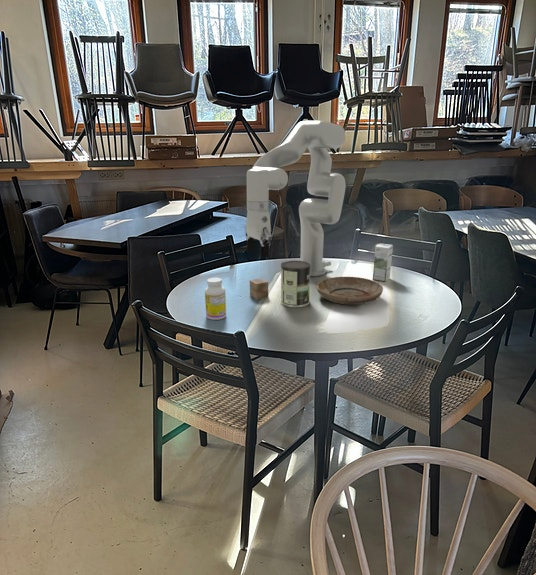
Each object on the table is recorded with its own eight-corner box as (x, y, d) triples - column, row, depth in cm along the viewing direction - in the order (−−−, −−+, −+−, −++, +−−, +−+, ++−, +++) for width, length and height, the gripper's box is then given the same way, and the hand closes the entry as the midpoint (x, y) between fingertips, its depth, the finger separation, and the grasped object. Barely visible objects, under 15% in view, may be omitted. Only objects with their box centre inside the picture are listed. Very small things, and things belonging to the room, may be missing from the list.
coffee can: (308, 297, 159) (309, 260, 155) (310, 307, 150) (311, 268, 145) (280, 297, 160) (280, 260, 155) (280, 307, 150) (280, 268, 145)
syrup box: (390, 278, 180) (393, 244, 175) (385, 282, 175) (388, 247, 170) (376, 276, 183) (379, 242, 178) (372, 280, 178) (374, 245, 173)
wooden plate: (334, 284, 174) (335, 272, 172) (391, 295, 161) (392, 283, 159) (304, 301, 156) (305, 288, 154) (366, 316, 143) (367, 302, 141)
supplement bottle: (208, 312, 146) (206, 276, 142) (227, 312, 146) (226, 276, 142) (204, 320, 140) (202, 283, 135) (225, 320, 140) (223, 283, 135)
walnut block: (261, 293, 164) (261, 278, 162) (268, 297, 160) (268, 281, 158) (249, 295, 161) (249, 280, 159) (256, 299, 157) (256, 284, 155)
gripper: (280, 208, 144) (279, 258, 150) (255, 202, 158) (255, 248, 164) (260, 210, 141) (260, 260, 146) (236, 203, 155) (237, 250, 160)
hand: (257, 254), depth 155 cm, fingers open, 9 cm apart
